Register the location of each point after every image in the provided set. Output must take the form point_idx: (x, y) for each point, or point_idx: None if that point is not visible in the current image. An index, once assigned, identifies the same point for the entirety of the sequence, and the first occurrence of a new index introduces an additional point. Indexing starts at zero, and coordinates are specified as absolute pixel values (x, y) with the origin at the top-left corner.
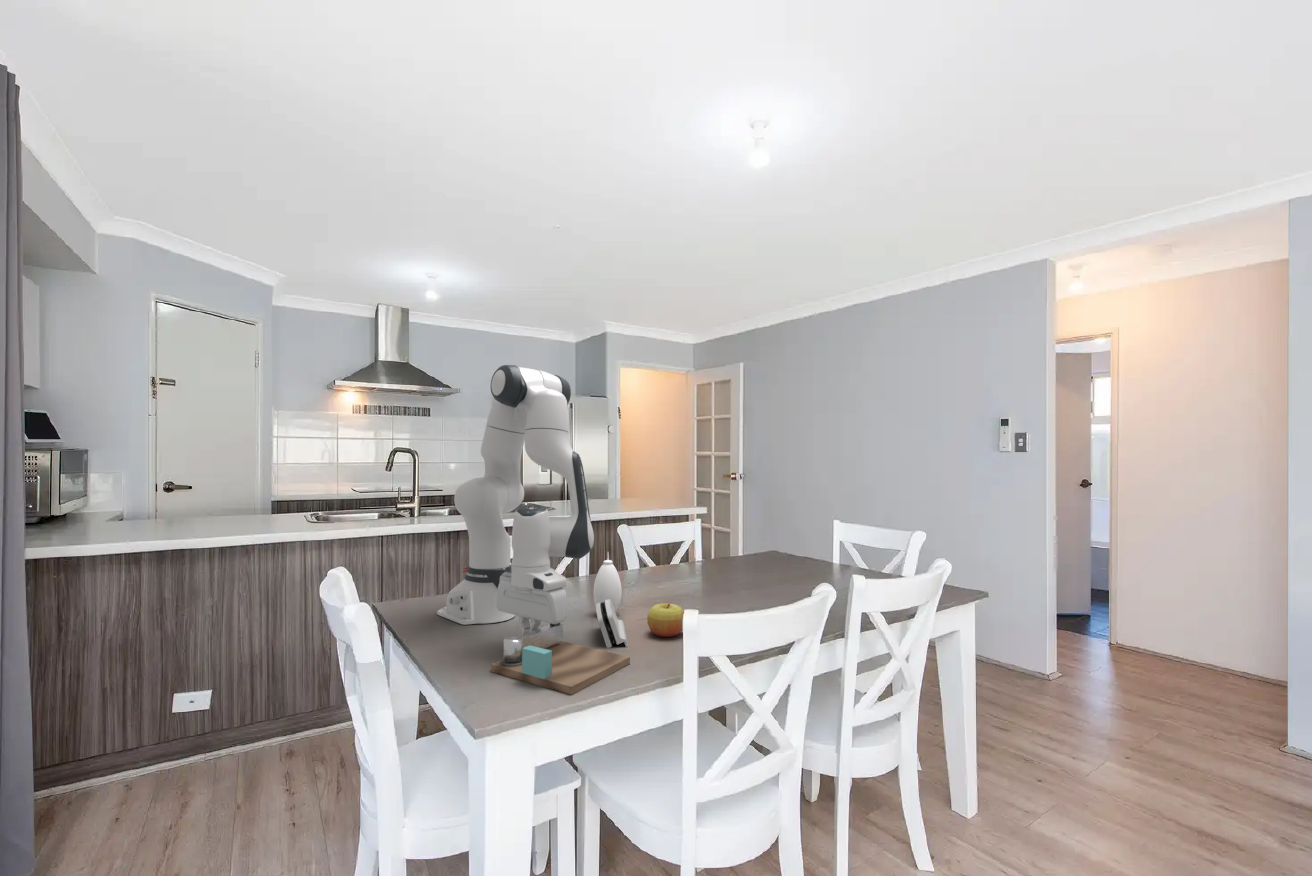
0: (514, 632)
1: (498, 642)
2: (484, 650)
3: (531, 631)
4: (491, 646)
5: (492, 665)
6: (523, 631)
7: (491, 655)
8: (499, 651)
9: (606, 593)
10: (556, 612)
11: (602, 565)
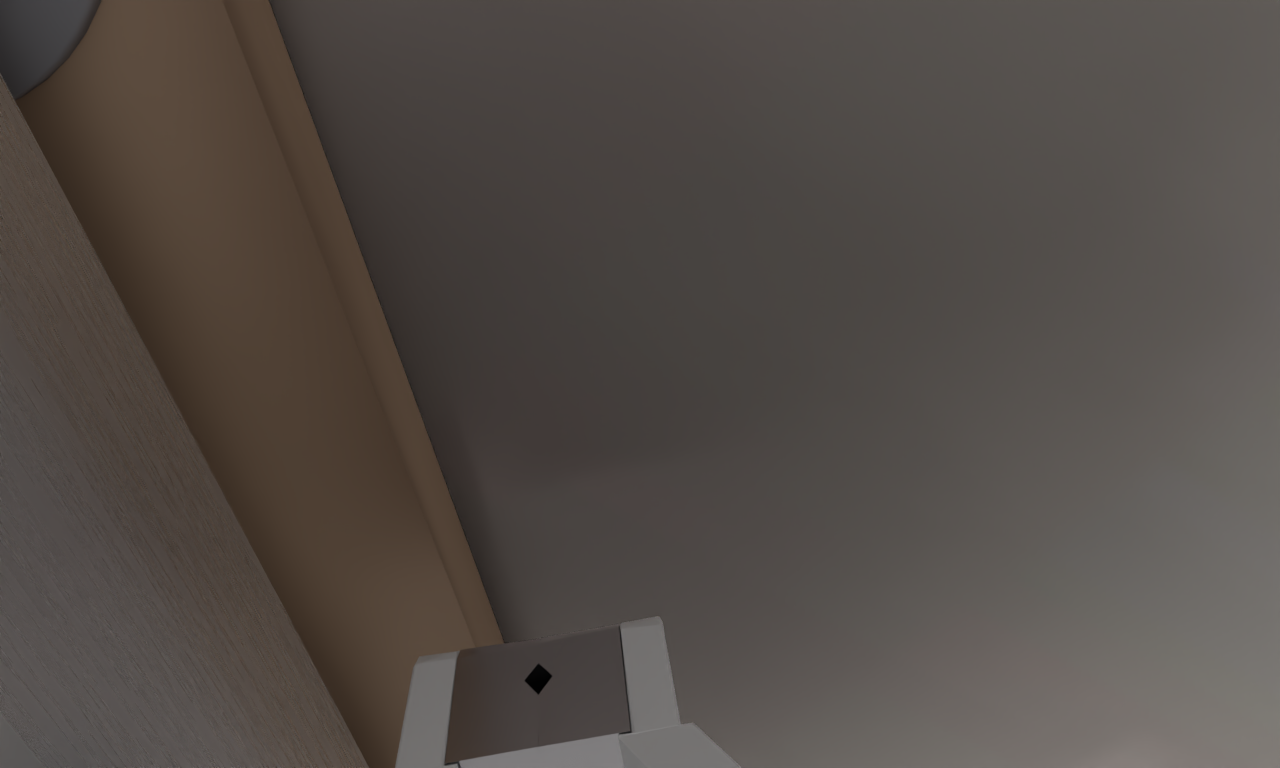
0: (1261, 690)
1: (1202, 405)
2: (1152, 61)
3: (8, 723)
4: (1180, 249)
5: None
6: (647, 672)
7: (868, 2)
8: (911, 214)
9: None
10: None
11: None
